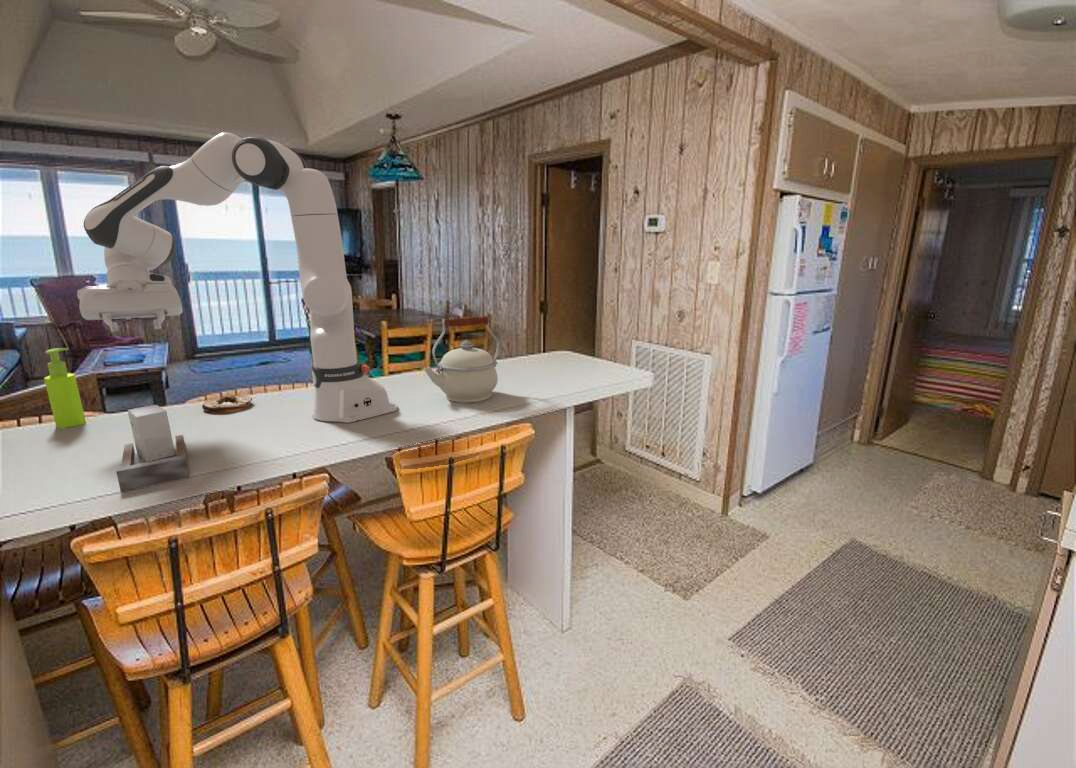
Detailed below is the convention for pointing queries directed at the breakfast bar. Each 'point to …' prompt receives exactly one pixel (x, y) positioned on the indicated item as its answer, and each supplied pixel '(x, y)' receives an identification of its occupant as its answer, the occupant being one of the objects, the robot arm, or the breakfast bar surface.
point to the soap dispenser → (63, 393)
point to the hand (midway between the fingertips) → (136, 328)
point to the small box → (151, 432)
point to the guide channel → (151, 468)
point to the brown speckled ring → (227, 404)
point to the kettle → (465, 367)
